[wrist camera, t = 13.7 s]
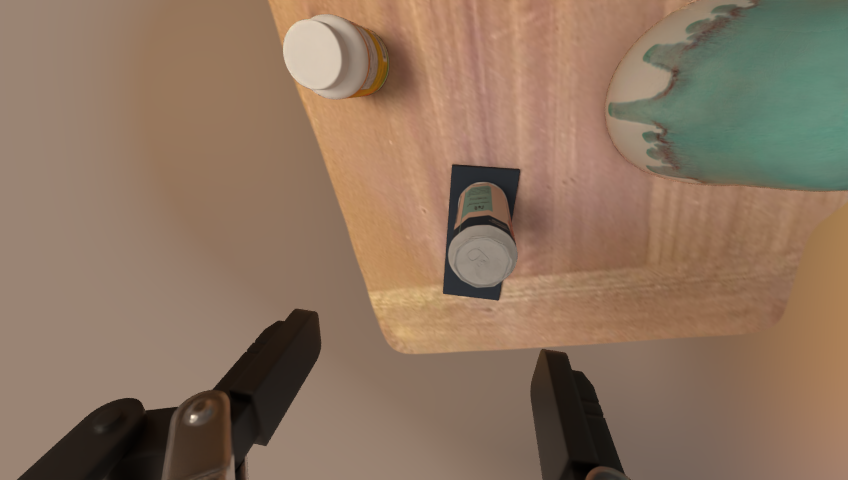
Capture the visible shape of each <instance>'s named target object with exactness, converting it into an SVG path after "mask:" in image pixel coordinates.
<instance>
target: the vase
mask: <svg viewBox="0 0 848 480" xmlns="http://www.w3.org/2000/svg"><path fill="white" fill-rule="evenodd" d="M605 121H606V126H607V130H608V133H609V136H610V138H611V140H612V142H613V144H614V146H615V147H616V149H617V150H618V151H619V152H620V154H621V155H622V156H623V157H624V158H625V159H626V160H627V161H628V162H630V163H631V164H632V165H634V166H636V167H637V168H639V169H641V170H642V171H644V172H647V173H649V174H651V175H654V176H657V177H660V178H664V179H668V180H672V181H677V182H682V183H688V184H696V185H708V186H749V187H760V188H770V189H780V190H790V191H813V192H830V191H848V0H698V1H696V2H693V3H691V4H688V5H686V6H684V7H682V8H680V9H678V10H676V11H675V12H673V13H671V14H670V15H668V16H667V17H665V18H664V19H662V20H661V21H659V22H658V23H656V24H655V25H654V26H652V27H651V28H650V29H649V30H648V31H647V32H645V33H644V34H643V35H642V36H641V37H640V38H639V39H638V40H637V41H636V42H635V43H634V44H633V45H632V47H631V48H630V49H629V50H628V52H627V53H626V54H625V56H624V57H623V58H622V60H621V61H620V63H619V65H618V67H617V68H616V70H615V72H614V74H613V76H612V79H611V82H610V84H609V88H608V91H607V95H606V101H605Z"/></svg>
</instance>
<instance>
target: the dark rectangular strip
mask: <svg viewBox="0 0 848 480" xmlns="http://www.w3.org/2000/svg"><path fill="white" fill-rule="evenodd" d="M519 173H520V170H519V169H510V168H496V167H482V166H467V165H452V174H451V188H450V202H449V216H448V230H447V244H446V258H445V273H444V287H443V294H450V295H458V296H466V297H474V298H483V299H491V300H499V296H500V289H501V283H502V281H501V282H500V283H498V284H497V285H495V286H493V287H478V288H476V287H474V286H472V285H470V284H468V283H466V282H464V281H462V280H461V279H460V278H459V277H458V276H457V275H456V273H455V272H454V271H453V270H452V268H451V266H450V263H449V259H448V252H449V247H450V244H451V242H452V237H453V232H454V227H455V222H456V217H457V212H458V202H459V198H460V195H461V194H462V192H463V191H464V190H465V189H466V188H467V187H469V186H470V185H472V184H474V183H478V182H489V183H492V184H494V185H496V186H498V187H499V188H500V189H501V190H502V191H503V192H504V194H505V196H506V198H507V202H508V208H509V213H510V218H511V222H512V216H513V210H514V204H515V198H516V192H517V186H518V180H519Z"/></svg>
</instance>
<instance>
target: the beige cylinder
mask: <svg viewBox="0 0 848 480" xmlns="http://www.w3.org/2000/svg"><path fill="white" fill-rule="evenodd" d="M448 259H449V263H450V266H451V268H452V270H453V271H454V272H455V273H456V275H457V276H458V277H459V278H460V279H461V280H462V281H464V282H466V283H468V284H470V285H472V286H474V287H476V288H478V287H493V286H495V285H497V284H498V283H500V282H501V281H503V280H504V279H505V278H507V277H508V276H509V275H510V274H511V273H512V271H513V270H514V268H515V266H516V262H517V248H516V243H515V238H514V233H513V228H512V223H511V218H510V213H509V208H508V202H507V198H506V196H505V194H504V192H503V191H502V190H501V189H500V188H499V187H498V186H496V185H494V184H492V183H489V182H478V183H474V184H472V185H470V186H469V187H467V188H466V189H465V190H464V191H463V192H462V194H461V195H460V198H459V202H458V212H457V217H456V222H455V227H454V232H453V237H452V242H451V244H450V247H449V252H448Z"/></svg>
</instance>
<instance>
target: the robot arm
mask: <svg viewBox="0 0 848 480" xmlns="http://www.w3.org/2000/svg"><path fill="white" fill-rule="evenodd" d="M320 349H321V336H320V327H319V318H318V314H317V312H315V311H308V310H302V309H295V310H293V311H292V313H291V314H290V315H289V316H288V318H287V319H286V320H285V321H277V322H275V323H274V324H273V325H271V326H269V327H268V328H266V329H265V330H264V331H263V332H262V333H261V334H260V336H259V337H258V338H257V339H256V340H255V343H253V344H252V345H251V346H250V347H249V348H248V349H247V352H245V353H244V354H243V355H242V356H241V357H240V359H239V360H238V361H237V362H236V363H235V364H234V366H233V367H232V368H231V369H230V370H229V371H228V372H227V374H226V375H225V376H224V377H223V378H222V379H221V380H220V382H219V383H218V384H217V385H216V386H215V387H214V388H213V390H208V391H204V392H201V393H198V394H196V395H194V396H192V397H190V398H189V399H187V400H186V401H184V402H183V403H182V404H181V405H180V406H179V407H172V408H163V409H156V410H146V411H145V409H144V407H143V405H142V403H141V402H140V401H139V400H137V399H134V398H124V399H119V400H116V401H112V402H110V403H107V404H105V405H103V406H101V407H100V408H98V409H96V410H94V411H93V412H92V413H90V414H89V415H88V416H87V417H85V418H84V420H82V421H81V422H80V423H79V424H78V425H77V426H76V427H74V428H73V429H72V430H71V431H70V432H69V433H68V434H67V435H66V436H64V437H63V438H62V439H61V440H60V441H59V442H58V443H57V444H56V445H55V446H54V447H52V448H51V449H50V450H49V451H48V452H47V453H46V454H45V455H44V456H42V457H41V458H40V459H39V460H38V461H37V462H36V463H35V464H34V465H33V466H32V467H30V468H29V469H28V470H27V471H26V472H25V473H24V474H23V475H22V476H20V477H19V478H18V479H17V480H248V462H247V453H248V451H249V450H250V448H251V447H252V445H253V444H259V445H263V446H266V445H267V444H268V442H269V440H270V439H271V437H272V435H273V434H274V432H275V430H276V428H277V427H278V425H279V423H280V422H281V420H282V418H283V417H284V415H285V413H286V412H287V410H288V408H289V406H290V405H291V403H292V401H293V400H294V398H295V396H296V395H297V393H298V391H299V390H300V388H301V386H302V384H303V383H304V381H305V379H306V377H307V376H308V374H309V373H310V371H311V369H312V367H313V366H314V364H315V362H316V361H317V359H318V356H319V353H320ZM598 402H599V401H598V398H597V395H596V393H595V389H594V387H593V385H592V384H591V383H590V381H589V380H588V379H587V378H586V376H585V375H584V374H583V372H580V371H575V370H572V369H571V366H570V362H569V359H568V356H567V354H566V353H564V352H559V351H553V350H546V349H542V350H541V352H540V354H539V358H538V361H537V365H536V368H535V371H534V374H533V378H532V382H531V403H532V410H533V416H534V424H535V431H536V437H537V444H538V450H539V458H540V465H541V471H542V478H543V480H631V479H630V478H628V477H627V476H626V475H625V473H624V471H623V468H622V466H621V463H620V460H619V457H618V454H617V451H616V449H615V446H614V443H613V441H612V437H611V435H610V432H609V429H608V426H607V423H606V420H605V418H603V412H602V409H601V406H600V405H599V403H598Z"/></svg>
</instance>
